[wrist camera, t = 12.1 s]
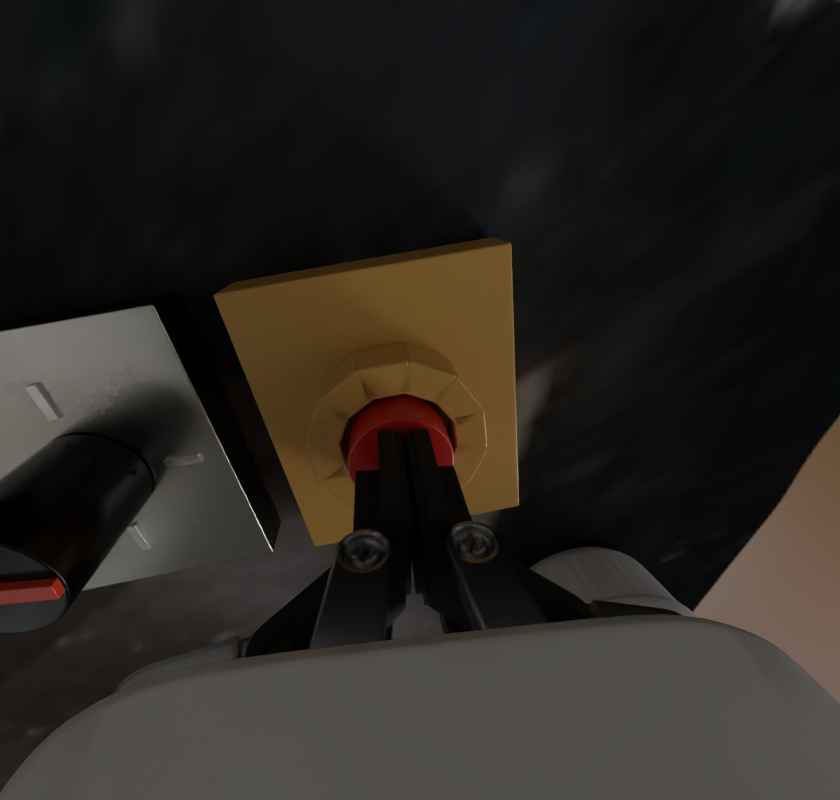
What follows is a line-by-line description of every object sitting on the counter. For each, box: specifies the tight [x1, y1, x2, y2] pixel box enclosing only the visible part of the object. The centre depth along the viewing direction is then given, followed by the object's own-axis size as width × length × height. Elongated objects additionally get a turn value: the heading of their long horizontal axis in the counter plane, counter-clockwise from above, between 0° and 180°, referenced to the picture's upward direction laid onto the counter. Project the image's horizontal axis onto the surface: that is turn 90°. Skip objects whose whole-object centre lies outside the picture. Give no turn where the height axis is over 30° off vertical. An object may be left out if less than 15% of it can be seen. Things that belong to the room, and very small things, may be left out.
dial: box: [0, 435, 153, 633], centre depth 13 cm, size 4×4×5 cm
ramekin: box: [529, 547, 697, 618], centre depth 23 cm, size 11×11×5 cm
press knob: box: [348, 395, 454, 485], centre depth 14 cm, size 4×4×2 cm
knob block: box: [214, 237, 519, 547], centre depth 16 cm, size 12×10×4 cm
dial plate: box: [0, 292, 281, 591], centre depth 16 cm, size 12×10×2 cm
